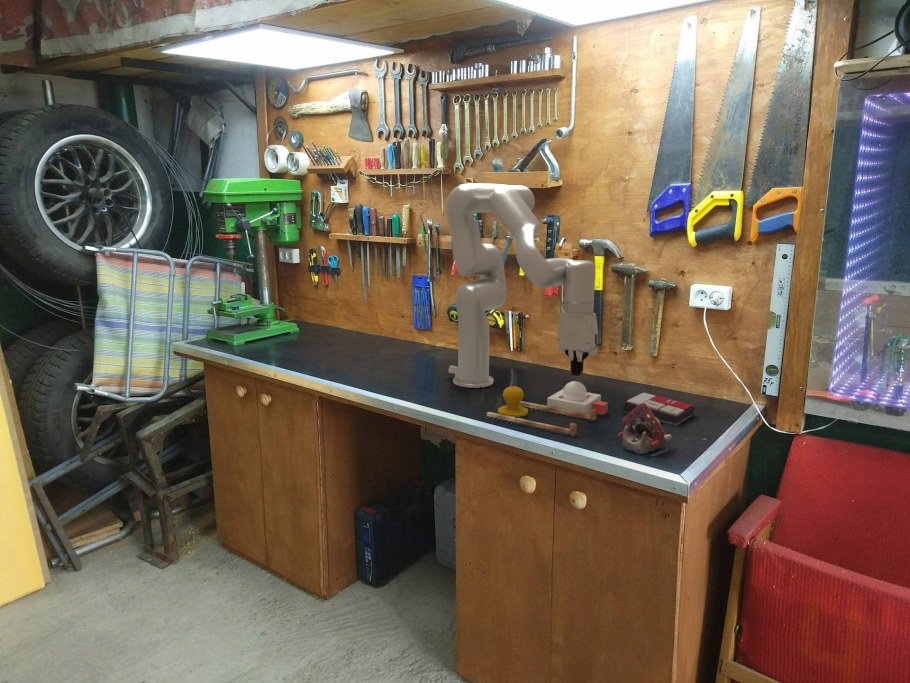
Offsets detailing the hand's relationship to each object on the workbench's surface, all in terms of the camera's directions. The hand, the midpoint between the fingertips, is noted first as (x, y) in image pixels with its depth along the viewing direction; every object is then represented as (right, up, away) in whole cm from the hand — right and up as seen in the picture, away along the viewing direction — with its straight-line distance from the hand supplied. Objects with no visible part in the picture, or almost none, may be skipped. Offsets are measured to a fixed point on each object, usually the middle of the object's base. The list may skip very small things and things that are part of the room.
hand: (576, 374), depth 181 cm
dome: (0, -8, +2) cm, 9 cm away
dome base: (+1, -10, +1) cm, 10 cm away
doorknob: (-17, -11, -2) cm, 21 cm away
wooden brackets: (-11, -11, -6) cm, 17 cm away
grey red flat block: (+21, -11, -2) cm, 24 cm away
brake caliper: (+11, -16, -25) cm, 31 cm away
